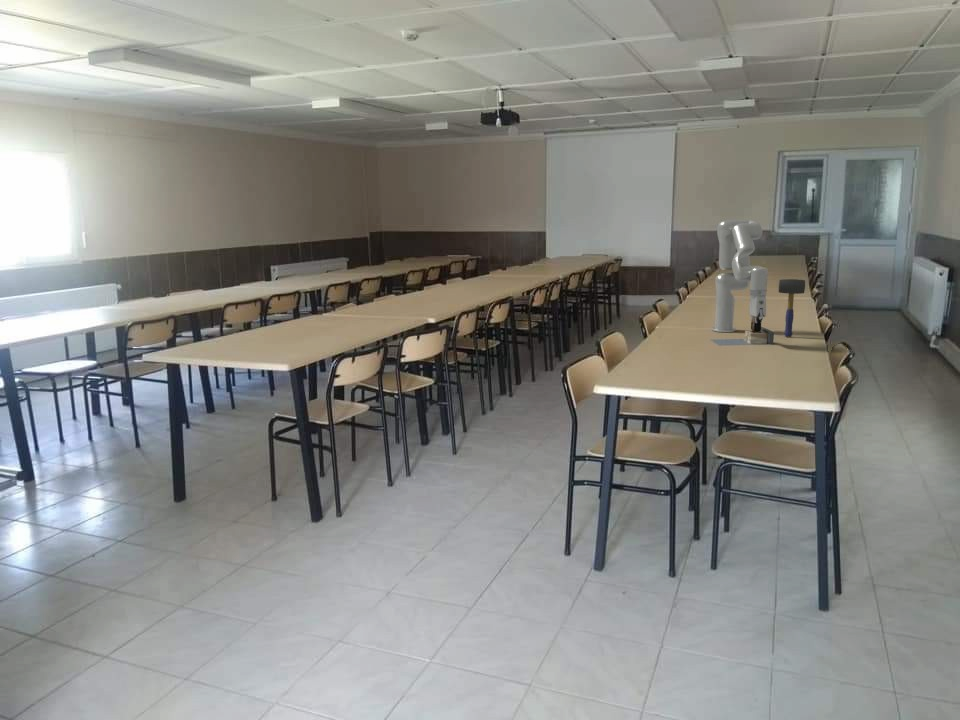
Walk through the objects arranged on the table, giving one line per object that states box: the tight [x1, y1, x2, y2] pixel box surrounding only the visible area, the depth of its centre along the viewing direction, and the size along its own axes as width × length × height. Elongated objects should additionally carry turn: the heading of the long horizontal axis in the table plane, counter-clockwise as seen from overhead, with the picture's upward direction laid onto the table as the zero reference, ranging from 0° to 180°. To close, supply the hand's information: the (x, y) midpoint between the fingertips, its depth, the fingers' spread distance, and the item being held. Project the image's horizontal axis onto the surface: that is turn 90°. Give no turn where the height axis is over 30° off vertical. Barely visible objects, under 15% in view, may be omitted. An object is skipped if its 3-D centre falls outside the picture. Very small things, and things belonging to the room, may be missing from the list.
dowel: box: [751, 315, 759, 333], centre depth 344 cm, size 3×3×12 cm
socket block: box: [744, 330, 768, 344], centre depth 345 cm, size 8×8×5 cm
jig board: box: [710, 326, 775, 346], centre depth 346 cm, size 15×26×8 cm, turn 90°
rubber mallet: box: [778, 278, 806, 338], centre depth 361 cm, size 12×8×30 cm, turn 66°
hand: (755, 330), depth 345 cm, fingers closed on dowel, 3 cm apart
